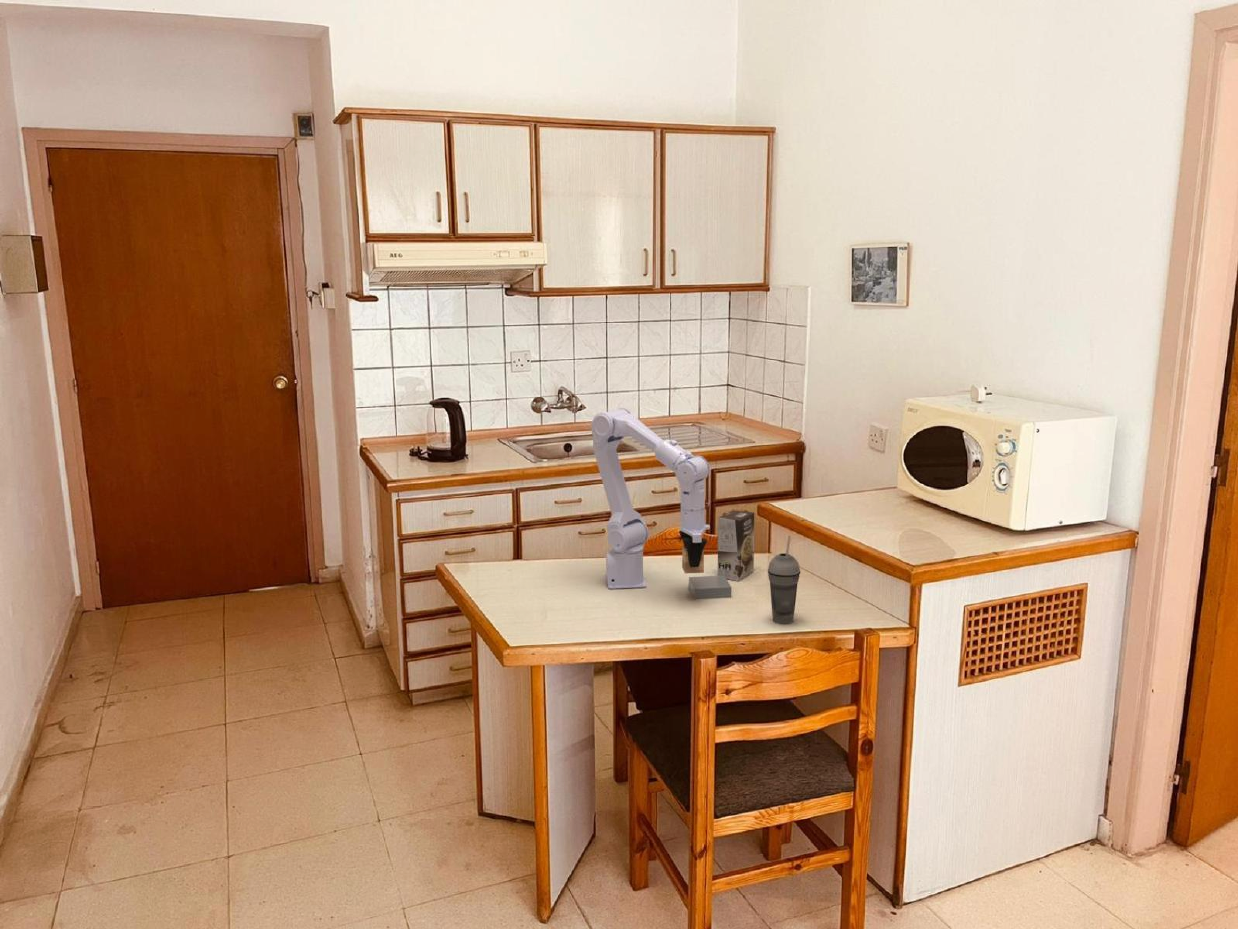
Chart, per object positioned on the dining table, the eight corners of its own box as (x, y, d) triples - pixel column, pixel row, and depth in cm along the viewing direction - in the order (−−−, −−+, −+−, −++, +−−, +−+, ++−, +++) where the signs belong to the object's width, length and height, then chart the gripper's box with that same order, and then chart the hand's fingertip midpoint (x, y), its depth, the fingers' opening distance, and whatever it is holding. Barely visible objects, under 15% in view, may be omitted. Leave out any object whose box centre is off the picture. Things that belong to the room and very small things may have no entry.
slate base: (694, 599, 233) (694, 589, 233) (688, 586, 242) (688, 577, 241) (731, 597, 234) (731, 587, 233) (724, 585, 242) (724, 575, 242)
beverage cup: (777, 612, 223) (778, 528, 219) (805, 619, 219) (807, 534, 215) (760, 621, 218) (761, 536, 214) (789, 629, 213) (790, 541, 209)
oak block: (685, 573, 229) (684, 553, 228) (682, 567, 234) (682, 547, 233) (703, 572, 230) (703, 552, 229) (700, 566, 234) (700, 547, 233)
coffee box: (739, 581, 245) (740, 520, 241) (716, 577, 248) (716, 516, 245) (754, 571, 252) (755, 511, 249) (732, 568, 256) (732, 508, 252)
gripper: (714, 515, 222) (714, 572, 224) (704, 500, 236) (704, 553, 239) (684, 516, 221) (684, 573, 224) (675, 501, 235) (676, 554, 238)
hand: (692, 563), depth 231 cm, fingers closed on oak block, 4 cm apart
